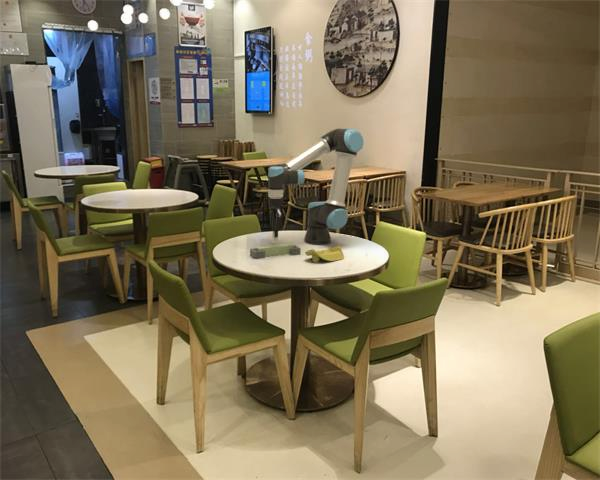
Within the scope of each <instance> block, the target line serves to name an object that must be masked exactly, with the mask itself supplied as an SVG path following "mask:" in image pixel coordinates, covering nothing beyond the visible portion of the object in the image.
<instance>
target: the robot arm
mask: <svg viewBox="0 0 600 480" xmlns="http://www.w3.org/2000/svg"><path fill="white" fill-rule="evenodd" d="M363 147H364V137H363V135H362V133H361V132H360V131H359V130H358V129H353V128H336V129H335V128H334V129H333V130H330V131H329V132H327V133H325V134H324V135H322V136H320V137H319V138H317V142H315V143H313V144H312V145H311V146H308V147H307V148H306V149H304V150H302V151H301V152H299V153H298V154H296V156H294V157H292V158H290V159H289V160H288V161H286V162H284V163H283V164H282V165H280V166H270V167H268V173H267V174H268V176H267V178H268V188H267V197H268V198H267V200H268V201H267V204H268V206H270V209H269V210H268V212H269V222H270V224H269V225H270V229H271V230H272V234H271V235H272V236H271V237H272V238H271V240H272V241H271V243H272V244H279V231H281V224H282V219H283V217H282V216H283V212H282V211H281V206H284V198H283V197H284V192H285V190H284V186H294V185H295V186H298V185H303V184H304V182H305V180H306V174H305V172H304V170H302V169H304V168H306V167H307V166H309V165H310V164H312V163H313V162H314V161H316V160H317V159H318V158H320V157H322V156H323V155H324V154H327V155H328V154H330V153H331V152H334V153H335V154H336V161H335V165H334V171H333V175H332V180H331V184H330V188H329V195H328V199H327V200H325V201H313V202H310V203H309V202H308V206H307V229H306V231H305V235H304V239H303V240H304V243H306V244H309V245H328V244H330V243H331V239H332V238H331V234H330V230H329V229H331V230H340V229H342V228H343V227H345V225H346V224H347V222H348V219H349V216H348V212H347V211H346V204H345V199H346V193H347V188H348V184H349V178H350V173H351V170H352V169H351V168H352V165H353V159H355V158H357V155H358V152H360V150H362V149H363Z"/></svg>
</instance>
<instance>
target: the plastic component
mask: <svg viewBox="0 0 600 480" xmlns="http://www.w3.org/2000/svg"><path fill="white" fill-rule="evenodd" d="M304 254H305V255H306V256H311V258H312V262H314V263H315V262H319V261H320V260H321V259H322V260H323V261H326V262H335V261H339V260H343V259H344V257H345V255H344V252H343V249H342V247H341V246H340V245H337V246H334V247H332V248H328V249H324V250H323V249H322V250H316V249H313V248H312V249H309V250H306V251H305V252H304Z"/></svg>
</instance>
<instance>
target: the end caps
mask: <svg viewBox="0 0 600 480" xmlns="http://www.w3.org/2000/svg"><path fill="white" fill-rule="evenodd" d="M293 245H294V248H290V254H289V256H299V255H300V256H301V247H300V246H298V245H296V244H293ZM249 255H250V257H251V258H252V259H254V260H256V259H257V260H258V259H266V257H265V251H256V247H255V248H249Z"/></svg>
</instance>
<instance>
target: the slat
mask: <svg viewBox="0 0 600 480" xmlns="http://www.w3.org/2000/svg"><path fill="white" fill-rule="evenodd" d="M294 245H295V244H294V243H283V244H275V245H265V246H257V247H255V248H256V251H265V258H270V256H271V257H279V255H280V256H287V255H286V254H288V255H290V248H294Z"/></svg>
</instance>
